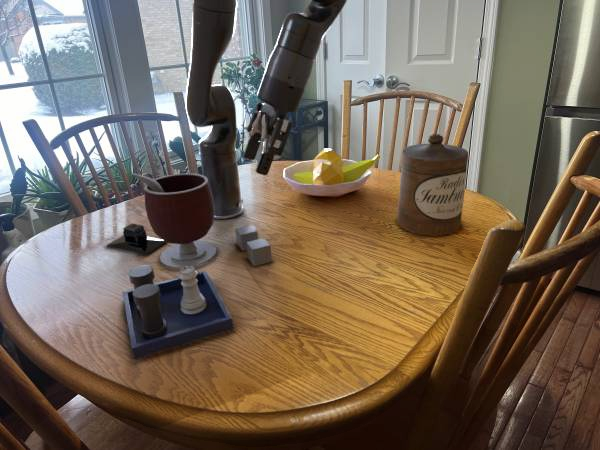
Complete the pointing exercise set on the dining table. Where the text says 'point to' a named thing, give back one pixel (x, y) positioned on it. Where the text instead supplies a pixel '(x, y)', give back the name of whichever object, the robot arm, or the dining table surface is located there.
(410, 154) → the wooden container
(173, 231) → the mate gourd
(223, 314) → the tray
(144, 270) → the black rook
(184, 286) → the rook chess piece
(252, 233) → the grey block far
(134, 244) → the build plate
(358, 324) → the dining table surface
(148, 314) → the dark grey cylinder
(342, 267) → the dining table surface
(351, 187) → the fruit bowl
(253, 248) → the grey block near
